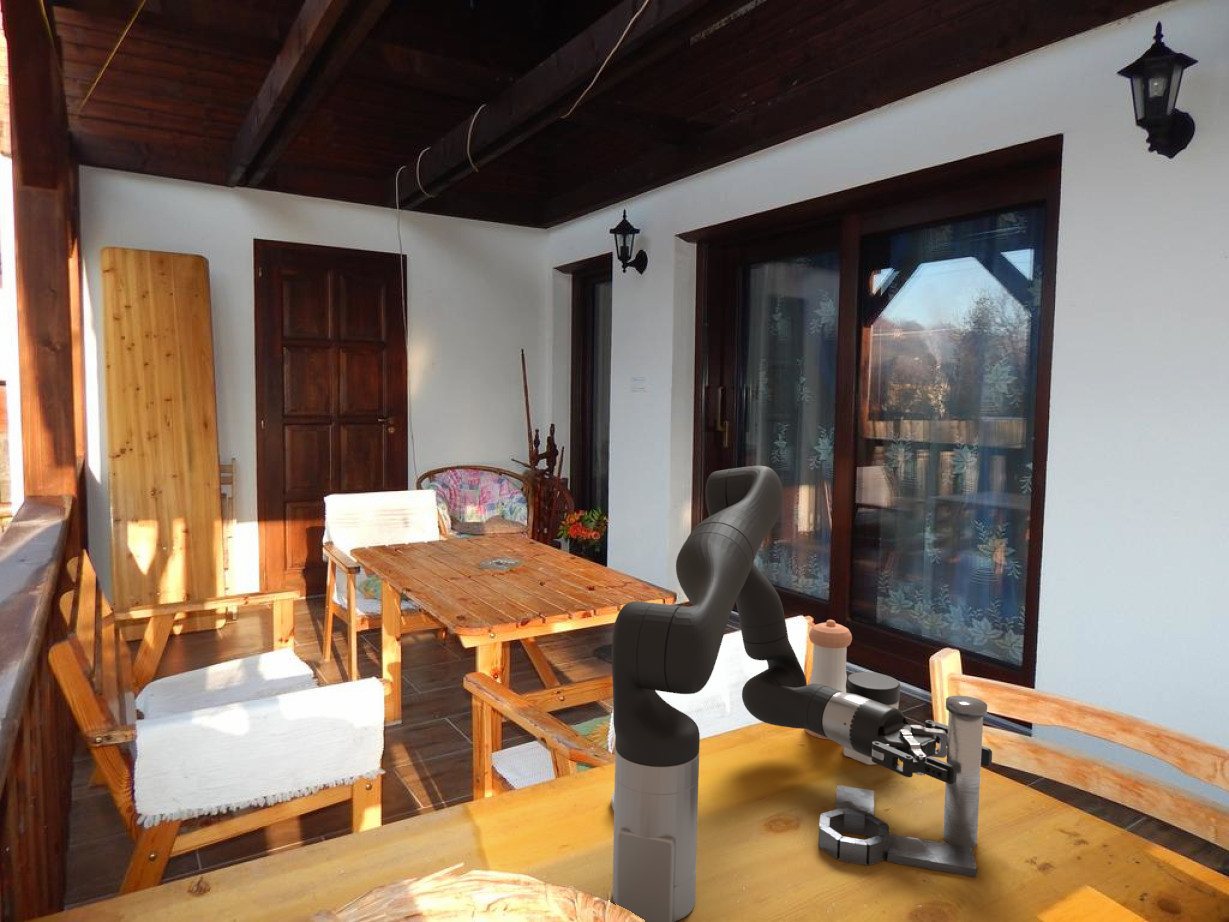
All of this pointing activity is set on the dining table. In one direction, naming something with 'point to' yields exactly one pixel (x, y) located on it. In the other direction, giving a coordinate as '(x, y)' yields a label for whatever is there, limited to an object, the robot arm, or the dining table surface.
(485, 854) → the dining table surface
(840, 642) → the pepper shaker
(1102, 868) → the dining table surface
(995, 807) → the dining table surface
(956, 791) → the pin
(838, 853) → the box end wrench
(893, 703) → the jar
